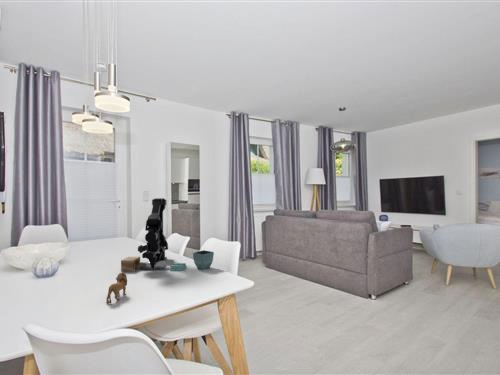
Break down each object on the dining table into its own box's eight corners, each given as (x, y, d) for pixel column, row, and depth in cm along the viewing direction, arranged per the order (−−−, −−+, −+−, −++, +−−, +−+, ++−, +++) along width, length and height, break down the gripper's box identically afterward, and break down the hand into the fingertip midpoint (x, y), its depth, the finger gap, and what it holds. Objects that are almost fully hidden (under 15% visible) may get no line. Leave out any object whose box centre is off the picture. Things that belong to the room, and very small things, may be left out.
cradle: (174, 267, 167) (174, 262, 168) (186, 267, 167) (186, 262, 167) (170, 270, 159) (169, 266, 160) (182, 270, 159) (182, 266, 159)
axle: (142, 268, 166) (142, 261, 167) (166, 268, 165) (166, 261, 166) (139, 269, 162) (139, 262, 163) (163, 269, 161) (164, 262, 162)
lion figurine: (116, 292, 126) (116, 271, 127) (129, 291, 127) (129, 271, 127) (103, 305, 112) (103, 282, 112) (117, 304, 112) (117, 281, 112)
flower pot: (203, 270, 159) (203, 254, 159) (192, 268, 164) (192, 252, 164) (214, 267, 166) (214, 251, 166) (203, 265, 171) (203, 250, 171)
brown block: (128, 266, 169) (128, 256, 169) (140, 266, 169) (140, 256, 169) (121, 271, 160) (121, 260, 160) (133, 271, 160) (133, 260, 160)
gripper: (146, 237, 174) (146, 263, 174) (132, 242, 155) (132, 271, 155) (164, 237, 173) (165, 263, 173) (152, 242, 155) (153, 271, 154)
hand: (154, 267), depth 164 cm, fingers closed on axle, 4 cm apart
